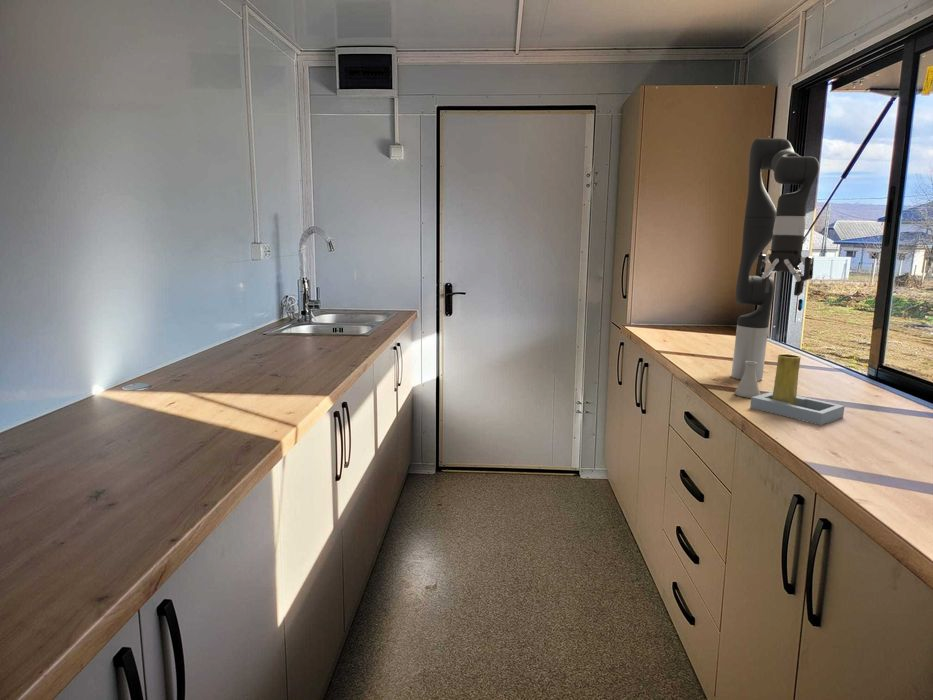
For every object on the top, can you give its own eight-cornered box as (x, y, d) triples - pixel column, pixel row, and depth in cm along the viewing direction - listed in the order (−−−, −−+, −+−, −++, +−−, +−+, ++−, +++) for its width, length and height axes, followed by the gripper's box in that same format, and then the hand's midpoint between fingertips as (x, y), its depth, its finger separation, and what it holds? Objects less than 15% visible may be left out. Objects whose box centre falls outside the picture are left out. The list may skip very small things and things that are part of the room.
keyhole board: (773, 401, 174) (775, 390, 173) (843, 417, 160) (844, 405, 159) (750, 407, 166) (751, 397, 165) (820, 425, 152) (822, 413, 152)
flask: (763, 399, 175) (767, 365, 173) (736, 397, 177) (740, 363, 175) (757, 393, 182) (761, 360, 180) (731, 391, 184) (735, 358, 182)
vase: (785, 412, 162) (792, 358, 159) (765, 405, 167) (771, 354, 164) (800, 409, 164) (807, 357, 162) (779, 403, 170) (786, 352, 167)
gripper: (822, 234, 163) (814, 296, 166) (769, 233, 174) (762, 291, 177) (809, 234, 158) (801, 297, 161) (755, 233, 169) (748, 292, 172)
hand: (780, 294), depth 169 cm, fingers open, 8 cm apart
